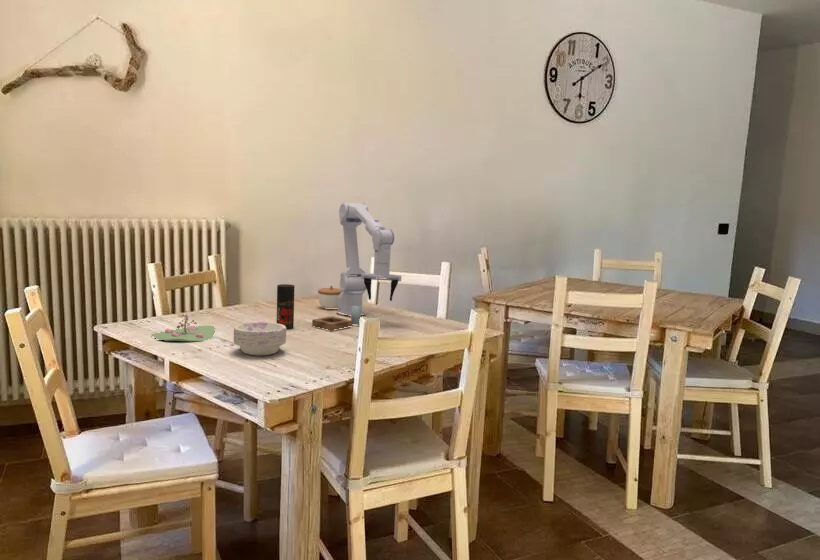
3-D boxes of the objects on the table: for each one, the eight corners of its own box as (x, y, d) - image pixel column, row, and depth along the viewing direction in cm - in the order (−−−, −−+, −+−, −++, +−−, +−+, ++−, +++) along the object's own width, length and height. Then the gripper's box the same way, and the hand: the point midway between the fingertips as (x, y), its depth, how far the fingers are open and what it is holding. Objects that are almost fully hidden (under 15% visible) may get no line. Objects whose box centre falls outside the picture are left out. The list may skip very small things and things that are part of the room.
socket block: (312, 326, 226) (312, 319, 226) (332, 322, 234) (333, 316, 233) (331, 331, 220) (331, 324, 220) (351, 327, 227) (352, 320, 227)
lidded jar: (319, 311, 254) (319, 288, 253) (316, 306, 265) (316, 284, 263) (345, 311, 257) (346, 288, 256) (341, 306, 267) (342, 284, 266)
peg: (348, 325, 232) (349, 306, 231) (355, 323, 234) (356, 305, 233) (355, 326, 229) (356, 307, 228) (362, 325, 232) (363, 306, 231)
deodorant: (272, 328, 221) (273, 285, 219) (283, 325, 226) (284, 283, 224) (286, 330, 218) (287, 287, 216) (297, 327, 223) (298, 285, 221)
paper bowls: (264, 343, 200) (264, 318, 198) (296, 352, 190) (296, 327, 189) (222, 351, 188) (223, 325, 187) (254, 361, 178) (255, 334, 177)
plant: (171, 325, 219) (171, 299, 218) (230, 328, 220) (231, 302, 218) (140, 342, 195) (140, 314, 193) (207, 346, 195) (208, 317, 194)
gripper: (360, 263, 225) (359, 300, 227) (401, 265, 225) (399, 302, 227) (362, 260, 232) (361, 297, 234) (402, 262, 232) (400, 299, 233)
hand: (380, 299), depth 231 cm, fingers open, 7 cm apart
